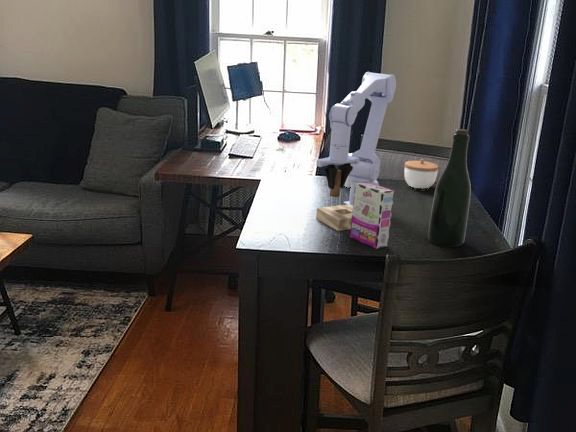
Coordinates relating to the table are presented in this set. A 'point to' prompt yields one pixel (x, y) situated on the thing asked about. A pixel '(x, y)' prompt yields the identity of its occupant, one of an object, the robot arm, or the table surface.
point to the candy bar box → (371, 214)
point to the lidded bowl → (420, 173)
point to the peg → (336, 185)
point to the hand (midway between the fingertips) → (335, 187)
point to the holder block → (336, 216)
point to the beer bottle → (452, 197)
